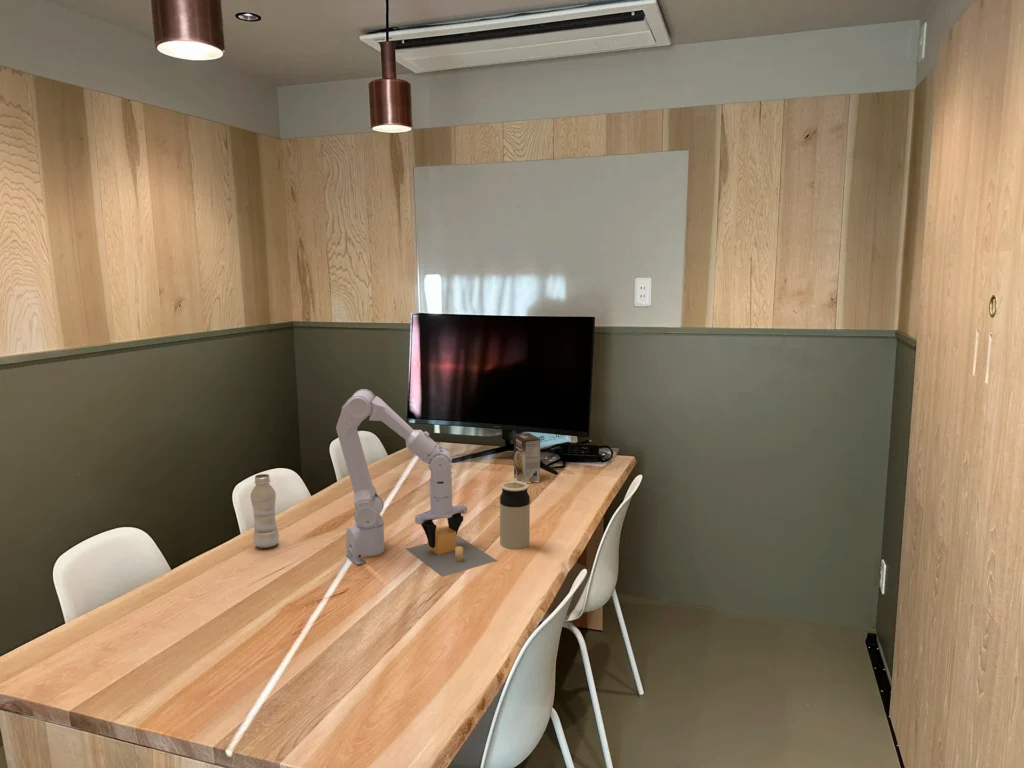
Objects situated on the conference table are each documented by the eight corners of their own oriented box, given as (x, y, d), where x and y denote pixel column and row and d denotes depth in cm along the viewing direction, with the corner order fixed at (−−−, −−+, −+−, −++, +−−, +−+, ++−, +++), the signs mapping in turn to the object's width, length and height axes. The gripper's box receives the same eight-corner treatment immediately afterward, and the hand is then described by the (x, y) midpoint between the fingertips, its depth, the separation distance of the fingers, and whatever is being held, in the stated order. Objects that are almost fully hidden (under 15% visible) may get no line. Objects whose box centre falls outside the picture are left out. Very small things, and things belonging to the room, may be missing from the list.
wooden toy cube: (437, 554, 180) (437, 536, 180) (427, 547, 185) (427, 529, 184) (456, 549, 184) (456, 532, 183) (446, 542, 188) (445, 525, 187)
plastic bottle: (271, 551, 186) (267, 480, 182) (248, 549, 187) (243, 478, 184) (284, 542, 192) (279, 473, 189) (262, 540, 193) (257, 471, 190)
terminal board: (442, 582, 168) (442, 562, 167) (405, 554, 185) (405, 536, 184) (497, 566, 177) (497, 547, 176) (457, 540, 193) (457, 523, 193)
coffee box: (513, 477, 250) (513, 434, 247) (529, 475, 253) (529, 432, 250) (524, 484, 242) (524, 439, 239) (540, 482, 245) (540, 437, 242)
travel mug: (526, 555, 184) (526, 490, 180) (497, 553, 185) (497, 488, 182) (531, 543, 191) (532, 481, 188) (503, 541, 193) (503, 479, 190)
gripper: (423, 504, 174) (424, 555, 177) (472, 493, 182) (473, 542, 185) (410, 496, 180) (412, 546, 182) (459, 486, 188) (459, 534, 191)
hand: (442, 543), depth 184 cm, fingers closed on wooden toy cube, 6 cm apart
